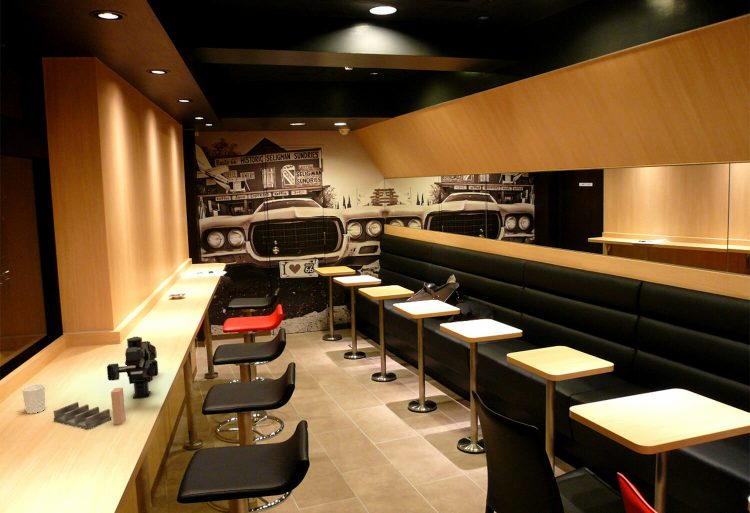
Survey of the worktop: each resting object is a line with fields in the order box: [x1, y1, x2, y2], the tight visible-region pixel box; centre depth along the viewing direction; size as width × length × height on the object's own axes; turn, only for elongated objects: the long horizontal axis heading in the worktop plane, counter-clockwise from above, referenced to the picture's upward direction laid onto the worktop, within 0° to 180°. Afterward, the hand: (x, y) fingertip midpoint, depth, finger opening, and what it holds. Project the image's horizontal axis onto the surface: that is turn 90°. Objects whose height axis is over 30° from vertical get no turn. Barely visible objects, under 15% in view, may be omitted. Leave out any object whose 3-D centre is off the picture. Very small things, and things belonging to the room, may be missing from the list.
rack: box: [53, 401, 112, 430], centre depth 235 cm, size 10×20×4 cm, turn 63°
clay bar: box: [110, 387, 126, 426], centre depth 232 cm, size 4×3×13 cm, turn 5°
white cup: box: [21, 383, 46, 415], centre depth 246 cm, size 8×8×10 cm
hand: (129, 376), depth 234 cm, fingers open, 9 cm apart
